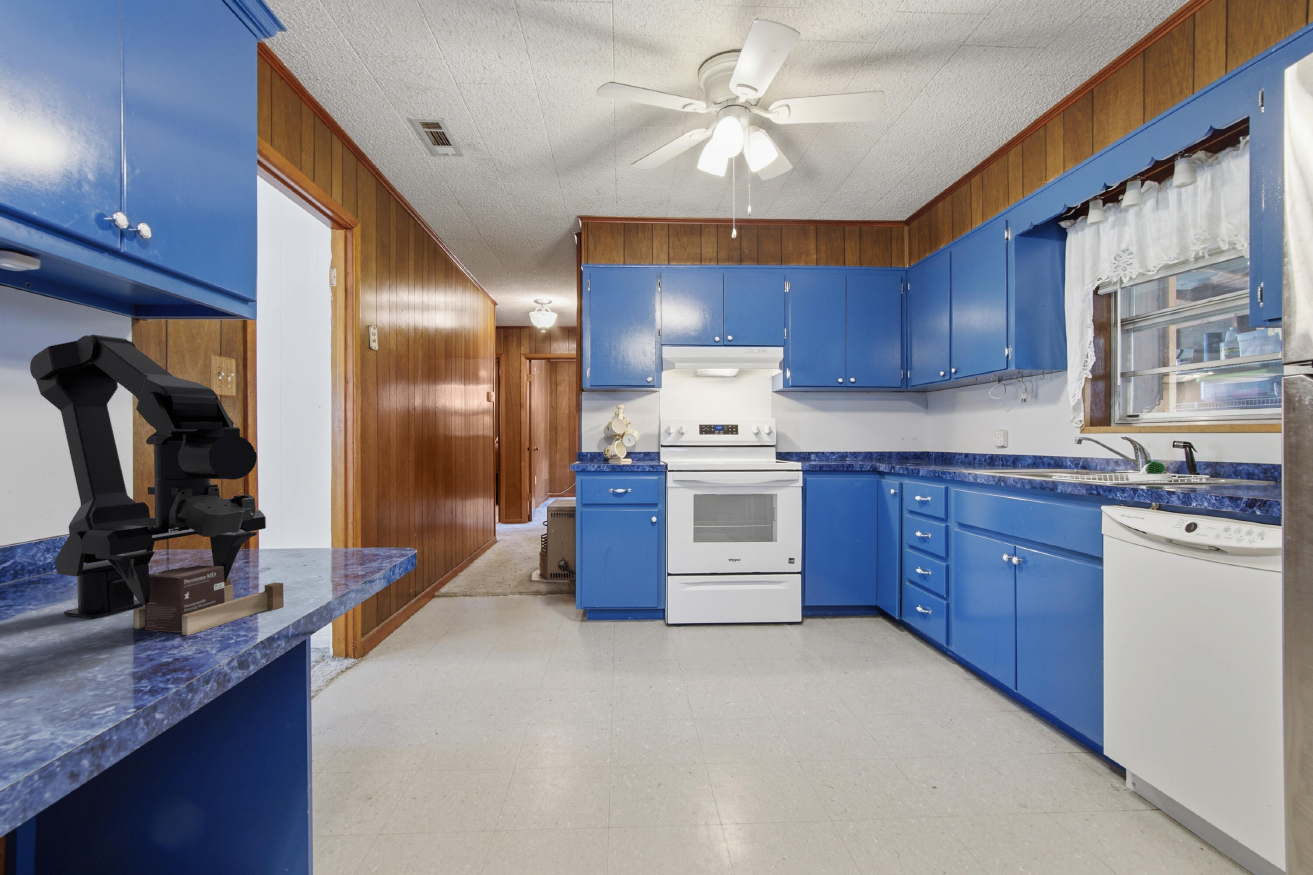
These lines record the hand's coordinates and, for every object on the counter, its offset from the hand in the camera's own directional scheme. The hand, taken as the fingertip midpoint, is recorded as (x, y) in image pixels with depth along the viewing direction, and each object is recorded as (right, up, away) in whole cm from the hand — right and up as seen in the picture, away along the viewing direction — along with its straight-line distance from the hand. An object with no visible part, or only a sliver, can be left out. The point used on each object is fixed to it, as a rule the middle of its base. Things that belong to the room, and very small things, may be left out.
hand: (185, 593), depth 72 cm
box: (0, -4, 0) cm, 4 cm away
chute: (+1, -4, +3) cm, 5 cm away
